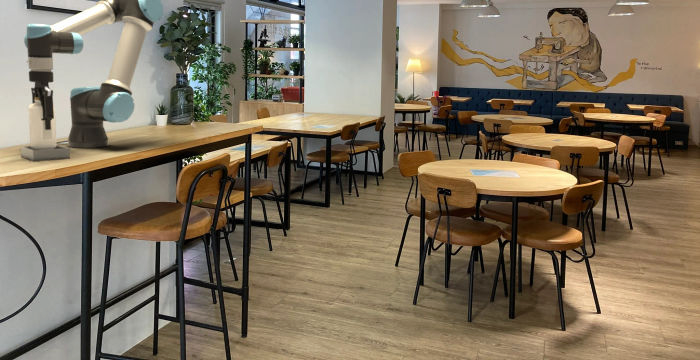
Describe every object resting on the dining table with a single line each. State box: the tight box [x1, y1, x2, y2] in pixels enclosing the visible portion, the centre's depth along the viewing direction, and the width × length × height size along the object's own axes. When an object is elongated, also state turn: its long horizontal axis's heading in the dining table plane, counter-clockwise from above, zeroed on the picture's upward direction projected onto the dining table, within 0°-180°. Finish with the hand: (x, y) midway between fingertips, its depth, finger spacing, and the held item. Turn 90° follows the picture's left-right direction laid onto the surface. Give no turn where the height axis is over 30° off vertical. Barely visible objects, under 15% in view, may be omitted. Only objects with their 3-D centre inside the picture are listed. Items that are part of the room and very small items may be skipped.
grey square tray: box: [20, 144, 71, 162], centre depth 222 cm, size 12×12×4 cm
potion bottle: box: [27, 97, 58, 150], centre depth 220 cm, size 8×8×18 cm
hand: (44, 137), depth 221 cm, fingers open, 5 cm apart
